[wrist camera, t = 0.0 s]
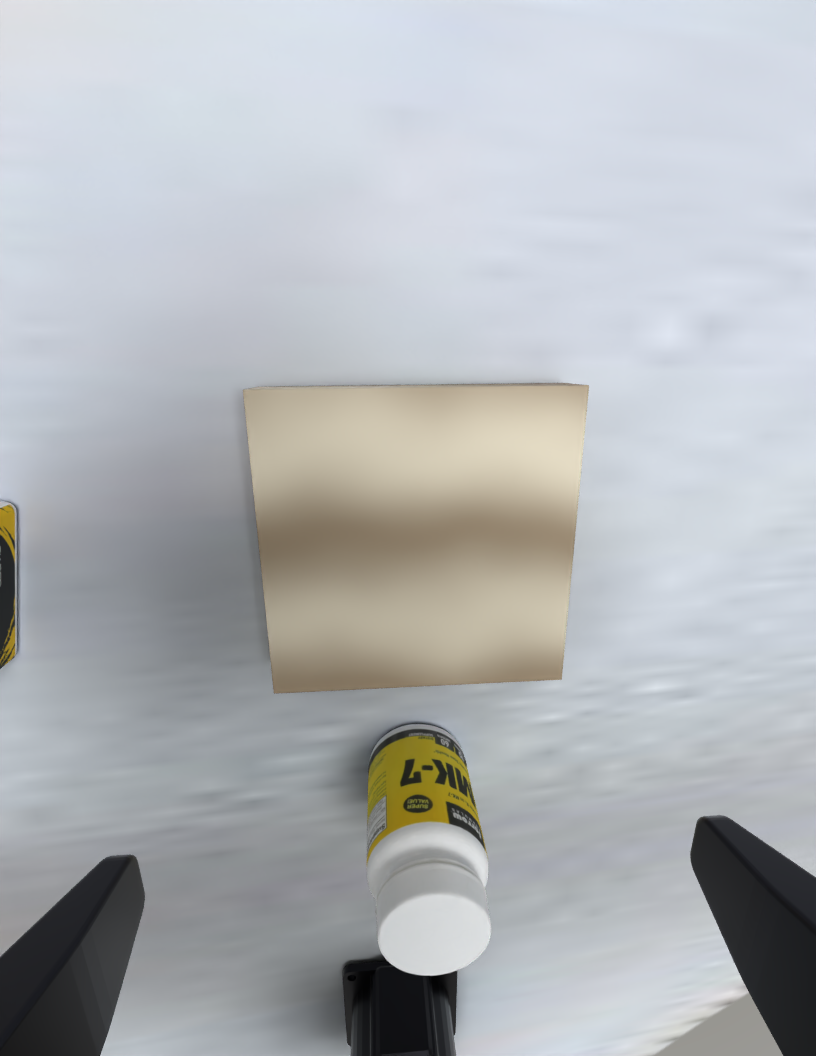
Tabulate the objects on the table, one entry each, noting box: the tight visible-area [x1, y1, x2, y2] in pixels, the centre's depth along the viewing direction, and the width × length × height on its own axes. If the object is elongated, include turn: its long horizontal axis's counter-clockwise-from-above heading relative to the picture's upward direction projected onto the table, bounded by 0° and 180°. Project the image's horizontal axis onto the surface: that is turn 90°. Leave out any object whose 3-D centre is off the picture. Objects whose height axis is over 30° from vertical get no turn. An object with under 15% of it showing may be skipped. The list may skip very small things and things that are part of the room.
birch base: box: [243, 383, 589, 693], centre depth 21 cm, size 12×12×2 cm
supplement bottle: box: [367, 724, 491, 976], centre depth 22 cm, size 5×5×8 cm
